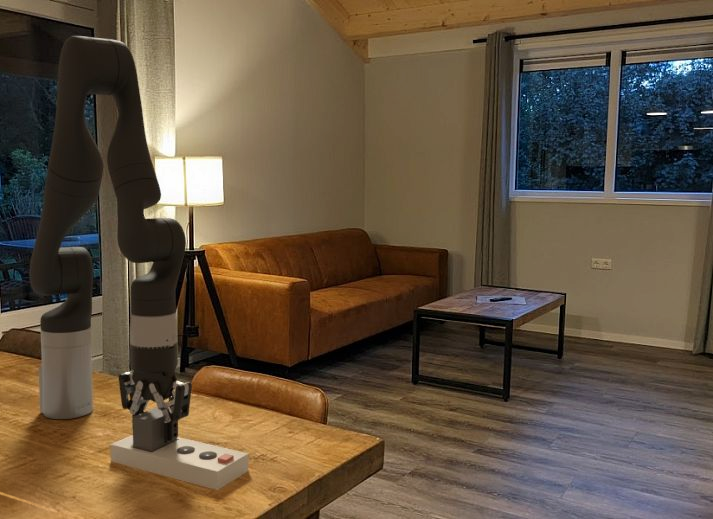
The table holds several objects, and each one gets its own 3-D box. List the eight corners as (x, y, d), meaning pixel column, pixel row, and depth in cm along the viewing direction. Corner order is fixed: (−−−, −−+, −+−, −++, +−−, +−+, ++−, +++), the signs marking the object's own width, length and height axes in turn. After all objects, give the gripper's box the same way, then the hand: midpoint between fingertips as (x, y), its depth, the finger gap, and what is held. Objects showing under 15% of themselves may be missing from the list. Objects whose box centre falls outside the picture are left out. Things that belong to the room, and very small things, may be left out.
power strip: (107, 460, 116) (106, 439, 115) (141, 444, 123) (141, 425, 122) (217, 490, 105) (217, 467, 105) (248, 471, 113) (248, 449, 112)
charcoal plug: (133, 463, 114) (132, 416, 113) (158, 451, 120) (158, 406, 119) (151, 468, 113) (151, 421, 112) (176, 455, 118) (176, 410, 117)
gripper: (104, 339, 114) (106, 437, 115) (172, 350, 107) (173, 454, 109) (137, 330, 120) (138, 424, 122) (203, 340, 114) (204, 439, 116)
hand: (155, 438), depth 116 cm, fingers open, 6 cm apart
